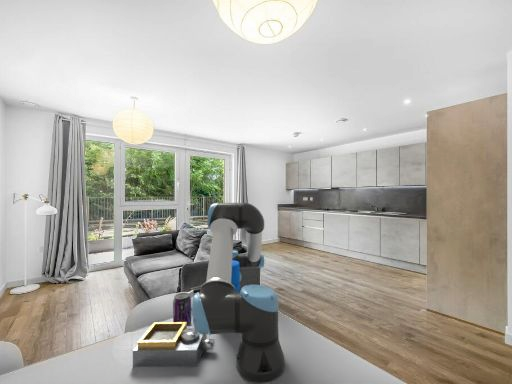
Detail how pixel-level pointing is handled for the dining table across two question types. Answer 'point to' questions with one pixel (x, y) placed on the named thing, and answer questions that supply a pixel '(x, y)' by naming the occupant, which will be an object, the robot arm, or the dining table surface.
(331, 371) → the dining table surface
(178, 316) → the beverage can
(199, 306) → the robot arm
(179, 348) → the grey holder stand
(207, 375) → the dining table surface
